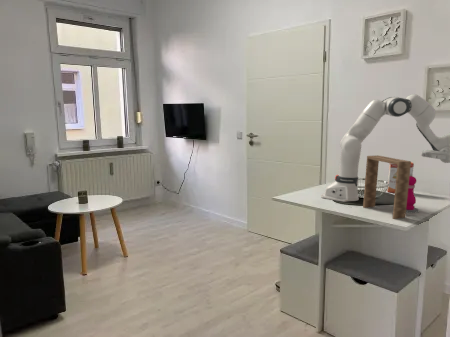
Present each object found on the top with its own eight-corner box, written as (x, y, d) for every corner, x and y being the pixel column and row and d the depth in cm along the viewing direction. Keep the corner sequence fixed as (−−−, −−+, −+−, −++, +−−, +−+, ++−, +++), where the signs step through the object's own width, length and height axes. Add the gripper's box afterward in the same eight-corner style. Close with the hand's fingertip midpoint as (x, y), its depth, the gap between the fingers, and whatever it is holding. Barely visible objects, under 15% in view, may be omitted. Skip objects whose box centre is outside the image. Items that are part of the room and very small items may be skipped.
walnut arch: (393, 219, 189) (399, 162, 184) (363, 207, 211) (367, 155, 206) (405, 217, 192) (410, 161, 187) (373, 206, 213) (377, 155, 208)
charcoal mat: (395, 210, 205) (396, 209, 205) (397, 206, 214) (397, 205, 214) (418, 213, 200) (418, 212, 199) (418, 208, 209) (418, 207, 209)
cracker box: (387, 192, 248) (390, 161, 244) (386, 190, 253) (389, 160, 250) (410, 194, 244) (414, 163, 240) (409, 192, 249) (412, 161, 246)
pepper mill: (411, 211, 202) (414, 175, 199) (398, 208, 208) (401, 173, 204) (417, 208, 206) (420, 173, 203) (404, 206, 212) (407, 171, 209)
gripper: (432, 147, 220) (414, 148, 215) (465, 151, 201) (446, 152, 196) (431, 158, 221) (413, 158, 216) (463, 163, 202) (445, 164, 197)
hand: (429, 155), depth 206 cm, fingers open, 8 cm apart
